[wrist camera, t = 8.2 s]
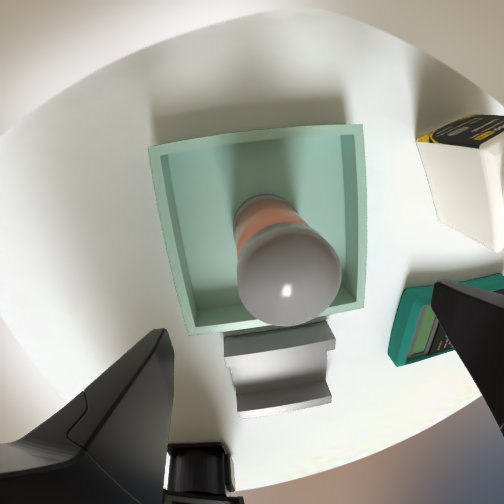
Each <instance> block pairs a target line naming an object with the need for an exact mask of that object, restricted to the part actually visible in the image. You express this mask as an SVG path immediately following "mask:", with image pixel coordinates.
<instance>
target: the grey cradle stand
mask: <svg viewBox="0 0 504 504" xmlns="http://www.w3.org/2000/svg"><path fill="white" fill-rule="evenodd" d="M335 341H336V339H335V337H334V335H333V333H332V331H331V329H330V327H329V325H328V324H327V322H326V321H323V322H318V323H312V324H307V325H301V326H295V327H290V328H284V329H277V330H271V331H265V332H258V333H251V334H244V335H237V336H229V337H224V359H225V363H226V367H230V370H231V375H232V379H233V383H234V387H235V392H236V397H237V411H238V416H239V419H242V418H250V417H257V416H264V415H271V414H277V413H283V412H289V411H294V410H300V409H305V408H310V407H314V406H319V405H323V404H328V403H331V397H332V395H331V393H330V390H329V388H328V385H327V383H326V359H327V351H329V350H334V349H335Z"/></svg>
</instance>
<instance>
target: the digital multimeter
mask: <svg viewBox="0 0 504 504" xmlns="http://www.w3.org/2000/svg"><path fill="white" fill-rule="evenodd" d="M458 283H460V284H464V285H468V286H472V287H476V288H479V289H483V290H487V291H491V292H494V293H498V294H501V295H504V276H503V275H502V274H500V273H498V274H494V275H491V276H487V277H483V278H478V279H474V280H469V281H465V282H458ZM432 292H433V286H423V287H410V288H407V289H406V290H405V291H404V292H403V295H402V298H401V301H400V305H399V308H398V311H397V314H396V318H395V321H394V325H393V329H392V334H391V339H390V344H389V350H388V355H389V357H390V358H391V360H392V361H393V363H394V364H395V365H396V366H397V367H399V366H403V365H407V364H411V363H414V362H418V361H421V360H424V359H427V358H431V357H434V356H437V355H440V354H443V353H446V352H450V351H453V350H455V349H454V348H453V346H452V344H451V343H450V341H449V340H448V338H447V336H446V334H445V332H444V330H443V328H442V327H441V325H440V323H439V321H438V319H437V317H436V316H435V314H434V312H433V310H432V308H431V298H432Z"/></svg>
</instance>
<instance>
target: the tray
mask: <svg viewBox="0 0 504 504" xmlns="http://www.w3.org/2000/svg"><path fill="white" fill-rule="evenodd" d="M148 152H149V159H150V165H151V171H152V177H153V183H154V189H155V194H156V200H157V205H158V210H159V215H160V220H161V225H162V230H163V235H164V239H165V244H166V249H167V253H168V257H169V262H170V266H171V270H172V275H173V279H174V283H175V287H176V291H177V295H178V299H179V302H180V306H181V310H182V314H183V318H184V321H185V325H186V328H187V332H188V335H189V336H190V335H199V334H208V333H216V332H224V331H232V330H240V329H247V328H254V327H261V326H267V325H270V324H267V323H264V322H262V321H260V320H258V319H257V318H255V317H254V316H253V315H252V314H251V313H249V312H248V310H247V309H246V308H245V306H244V305H243V303H242V301H241V299H240V296H239V292H238V284H237V272H236V270H237V262H238V260H237V250H236V244H235V241H234V237H233V219H234V216H235V213H236V211H237V210H238V208H239V207H240V205H241V204H242V203H243V202H245V201H246V200H247V199H249V198H250V197H253V196H255V195H258V194H274V195H277V196H280V197H282V198H284V199H285V200H287V201H288V202H289V203H290V204H291V205H292V206H293V207H294V208H295V209H296V211H297V212H298V214H299V216H300V217H301V218H302V219H303V220H304V221H305V222H306V223H307V224H308V225H309V226H310V227H311V228H313V229H314V230H316V231H317V232H318V233H319V234H320V235H321V236H322V237H323V238H324V239H325V240H326V241H327V242H328V243H329V244H330V245H331V246H332V247H333V249H334V250H335V251H336V253H337V255H338V257H339V260H340V263H341V269H342V278H341V284H340V288H339V290H338V293H337V295H336V297H335V299H334V300H333V302H332V303H331V304H330V305H329V307H328V308H327V309H326V310H325V311H324V312H323V313H321V314H320V315H319V316H317V317H320V316H325V315H330V314H336V313H341V312H346V311H350V310H355V309H360V308H364V298H365V281H366V258H367V187H366V164H365V148H364V135H363V124H344V125H314V126H297V127H283V128H271V129H261V130H251V131H242V132H234V133H227V134H219V135H213V136H206V137H200V138H194V139H188V140H182V141H176V142H171V143H166V144H161V145H156V146H151V147H148Z"/></svg>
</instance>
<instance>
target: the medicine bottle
mask: <svg viewBox="0 0 504 504" xmlns="http://www.w3.org/2000/svg"><path fill="white" fill-rule="evenodd" d="M416 144H417V147H418V150H419V153H420V156H421V159H422V162H423V165H424V169H425V172H426V175H427V179H428V182H429V186H430V189H431V193H432V197H433V201H434V205H435V209H436V213H437V218H438V221H439V223H441V224H443V225H445V226H447V227H449V228H451V229H453V230H455V231H457V232H459V233H461V234H463V235H465V236H467V237H469V238H471V239H472V240H474V241H476V242H478V243H480V244H482V245H484V246H486V247H487V248H489V249H491V250H493V251H495V252H500V251H501V250H502V249H503V248H504V116H498V115H468V116H466V117H464V118H462V119H459V120H457V121H455V122H453V123H451V124H448V125H446V126H444V127H442V128H440V129H437V130H435V131H433V132H431V133H429V134H427V135H425V136H422V137H420V138H418V139H417V141H416Z"/></svg>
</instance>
